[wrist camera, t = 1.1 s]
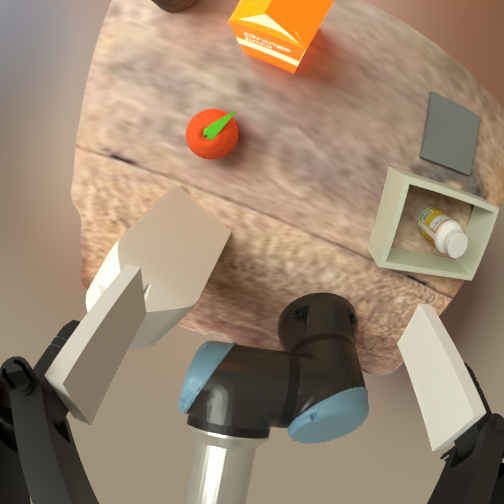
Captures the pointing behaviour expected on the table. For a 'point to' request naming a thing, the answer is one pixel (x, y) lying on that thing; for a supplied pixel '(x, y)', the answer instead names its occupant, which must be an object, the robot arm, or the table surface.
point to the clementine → (212, 134)
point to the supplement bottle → (442, 232)
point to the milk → (165, 261)
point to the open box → (423, 262)
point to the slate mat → (450, 134)
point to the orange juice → (278, 28)
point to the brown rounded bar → (173, 4)
